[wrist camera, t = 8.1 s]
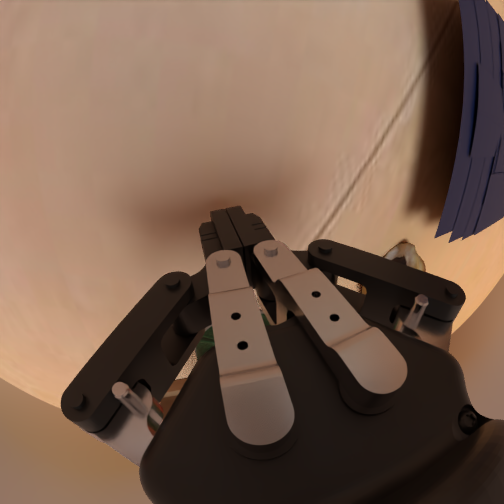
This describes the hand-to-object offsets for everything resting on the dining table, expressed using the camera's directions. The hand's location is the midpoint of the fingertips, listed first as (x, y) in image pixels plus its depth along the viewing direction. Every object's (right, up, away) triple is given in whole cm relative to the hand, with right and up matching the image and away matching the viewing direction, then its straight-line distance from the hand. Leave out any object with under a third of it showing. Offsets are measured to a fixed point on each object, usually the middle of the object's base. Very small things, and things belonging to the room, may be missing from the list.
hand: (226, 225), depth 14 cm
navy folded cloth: (+28, +13, +4) cm, 31 cm away
